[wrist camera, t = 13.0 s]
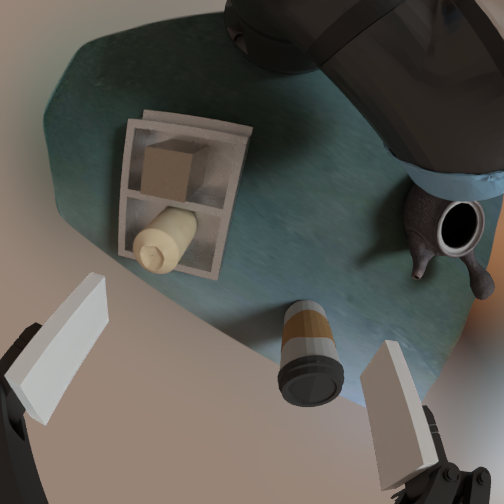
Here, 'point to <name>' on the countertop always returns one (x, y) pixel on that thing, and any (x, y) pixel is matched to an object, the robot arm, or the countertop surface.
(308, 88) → the countertop surface
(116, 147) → the countertop surface
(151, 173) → the block
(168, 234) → the candle
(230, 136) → the divided tray
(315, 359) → the coffee cup
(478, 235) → the teapot
